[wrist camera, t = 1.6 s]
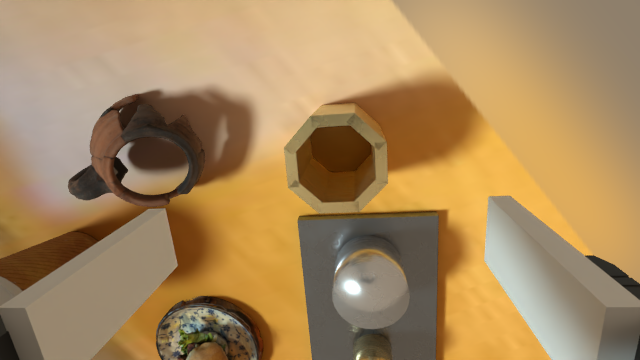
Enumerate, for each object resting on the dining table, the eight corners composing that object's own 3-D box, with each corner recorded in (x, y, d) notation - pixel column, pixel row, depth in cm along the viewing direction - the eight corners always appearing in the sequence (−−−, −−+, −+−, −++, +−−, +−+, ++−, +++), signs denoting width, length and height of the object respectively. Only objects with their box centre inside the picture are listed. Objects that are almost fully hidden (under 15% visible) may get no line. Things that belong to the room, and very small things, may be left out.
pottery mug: (154, 65, 32) (153, 92, 25) (220, 139, 38) (233, 176, 31) (47, 143, 32) (18, 189, 25) (129, 205, 38) (123, 256, 31)
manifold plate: (299, 216, 34) (287, 245, 29) (436, 211, 33) (452, 240, 27) (315, 378, 40) (309, 429, 34) (433, 380, 38) (446, 434, 33)
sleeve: (299, 106, 31) (280, 117, 24) (378, 101, 30) (386, 110, 23) (306, 181, 33) (291, 214, 26) (380, 178, 32) (388, 210, 25)
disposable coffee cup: (28, 221, 38) (-115, 285, 26) (109, 214, 36) (-4, 278, 25) (58, 297, 40) (-60, 385, 29) (134, 293, 39) (42, 384, 28)
